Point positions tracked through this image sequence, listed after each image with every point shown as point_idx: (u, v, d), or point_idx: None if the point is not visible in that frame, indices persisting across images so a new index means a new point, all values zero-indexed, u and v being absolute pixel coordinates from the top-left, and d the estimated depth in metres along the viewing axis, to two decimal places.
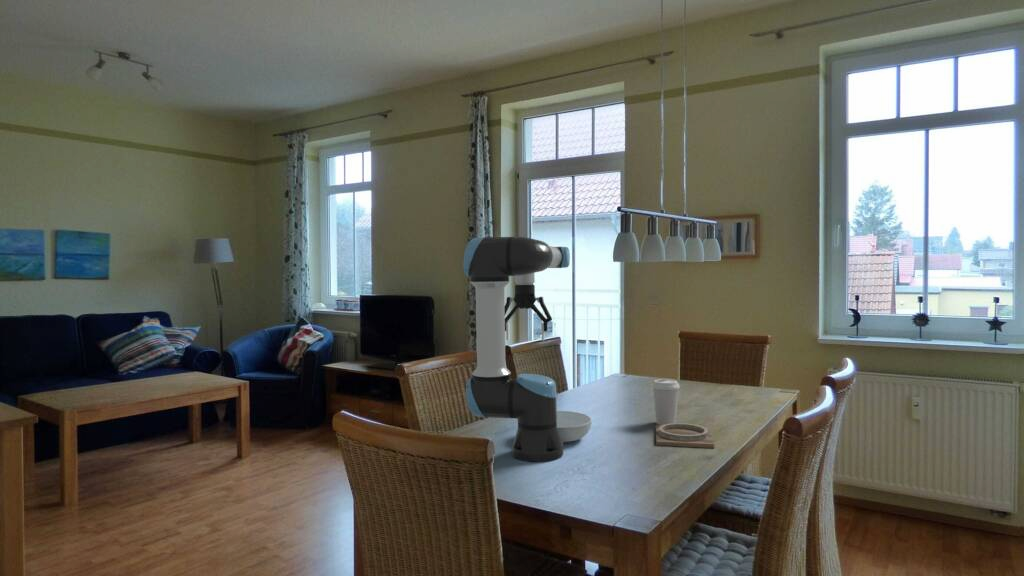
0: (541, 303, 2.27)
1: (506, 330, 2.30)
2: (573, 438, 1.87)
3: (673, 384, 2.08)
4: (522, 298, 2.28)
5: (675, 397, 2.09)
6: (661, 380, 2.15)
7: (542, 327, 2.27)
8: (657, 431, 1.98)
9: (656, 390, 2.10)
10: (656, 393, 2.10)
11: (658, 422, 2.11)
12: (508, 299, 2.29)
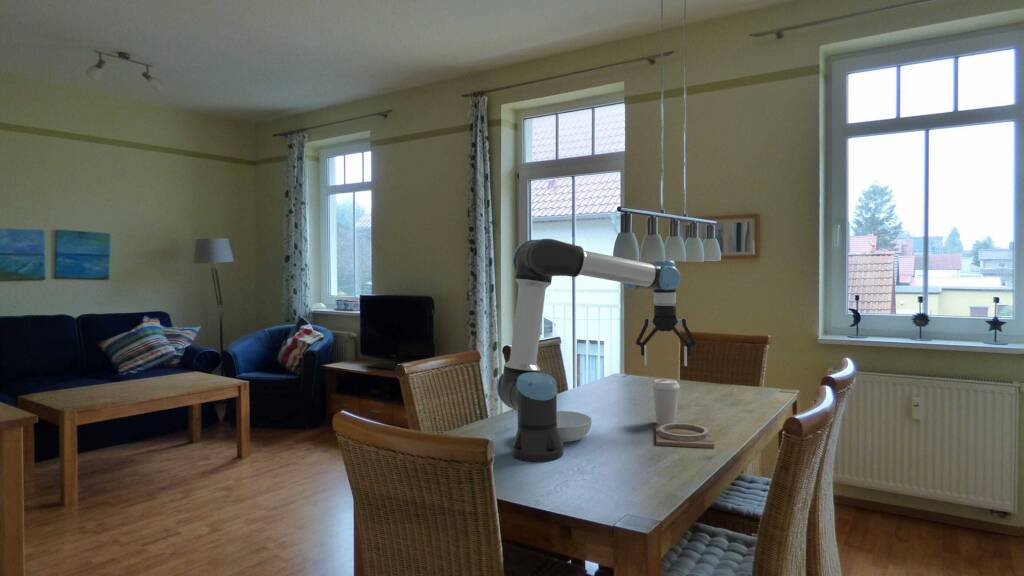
0: (684, 325, 2.09)
1: (644, 354, 2.12)
2: (573, 438, 1.87)
3: (673, 384, 2.08)
4: (662, 320, 2.10)
5: (675, 397, 2.09)
6: (661, 380, 2.15)
7: (685, 351, 2.09)
8: (657, 431, 1.98)
9: (656, 390, 2.10)
10: (656, 393, 2.10)
11: (658, 422, 2.11)
12: (647, 321, 2.11)
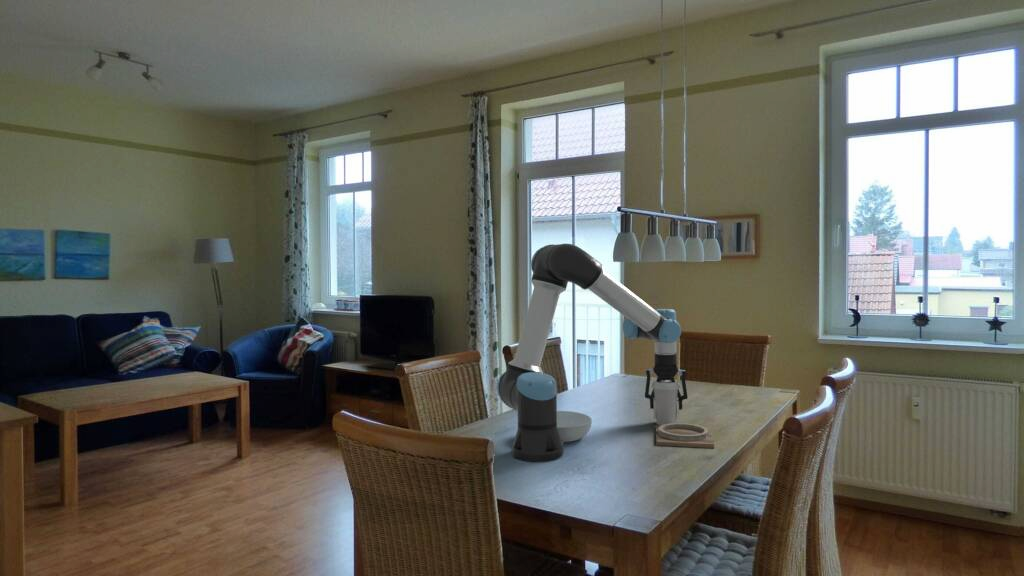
0: (683, 378, 2.09)
1: (653, 408, 2.12)
2: (573, 438, 1.87)
3: (673, 384, 2.08)
4: (662, 366, 2.11)
5: (675, 397, 2.09)
6: (661, 380, 2.15)
7: (677, 405, 2.10)
8: (657, 431, 1.98)
9: (656, 390, 2.10)
10: (656, 393, 2.10)
11: (658, 422, 2.11)
12: (648, 372, 2.12)
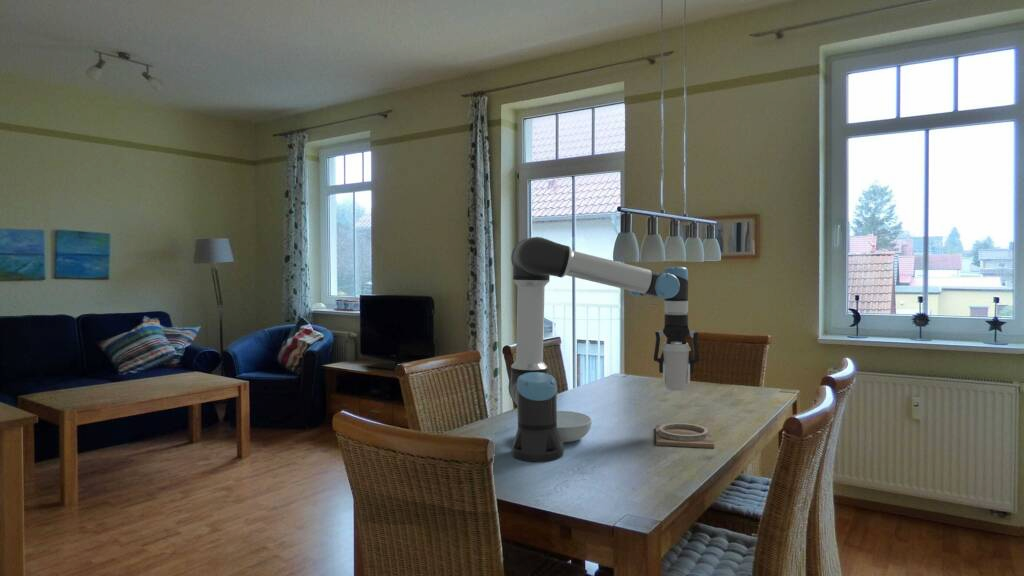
0: (695, 339, 1.97)
1: (663, 372, 1.99)
2: (573, 438, 1.87)
3: (684, 346, 1.96)
4: (673, 328, 1.98)
5: (686, 360, 1.96)
6: None
7: (688, 369, 1.97)
8: (657, 431, 1.98)
9: (666, 353, 1.97)
10: (666, 356, 1.97)
11: (668, 387, 1.98)
12: (657, 334, 1.99)
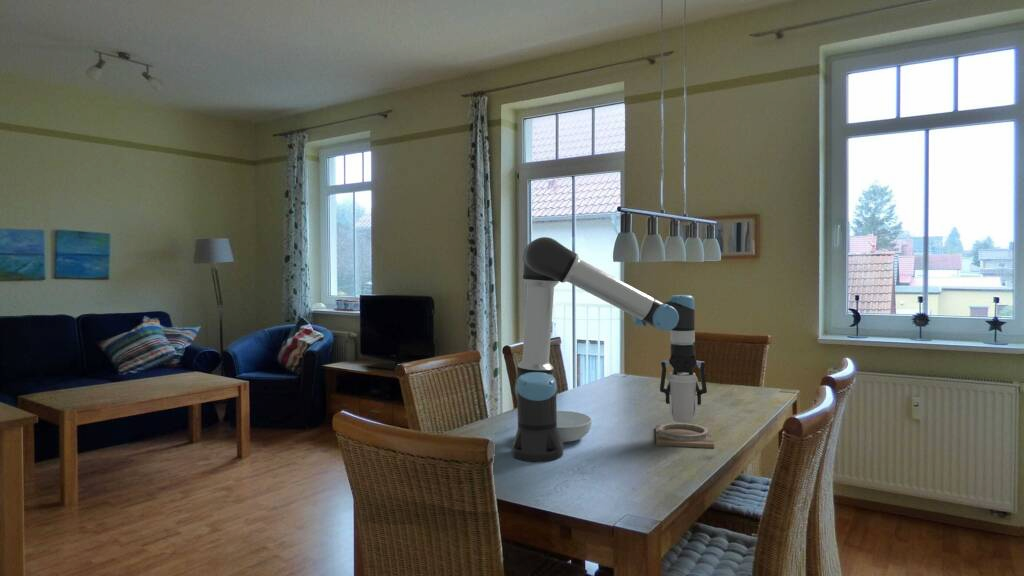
0: (702, 370, 1.91)
1: (669, 403, 1.94)
2: (573, 438, 1.87)
3: (691, 377, 1.90)
4: (679, 358, 1.93)
5: (693, 391, 1.91)
6: (677, 373, 1.97)
7: (696, 400, 1.92)
8: (657, 431, 1.98)
9: (672, 384, 1.92)
10: (672, 387, 1.92)
11: (674, 418, 1.93)
12: (663, 364, 1.94)
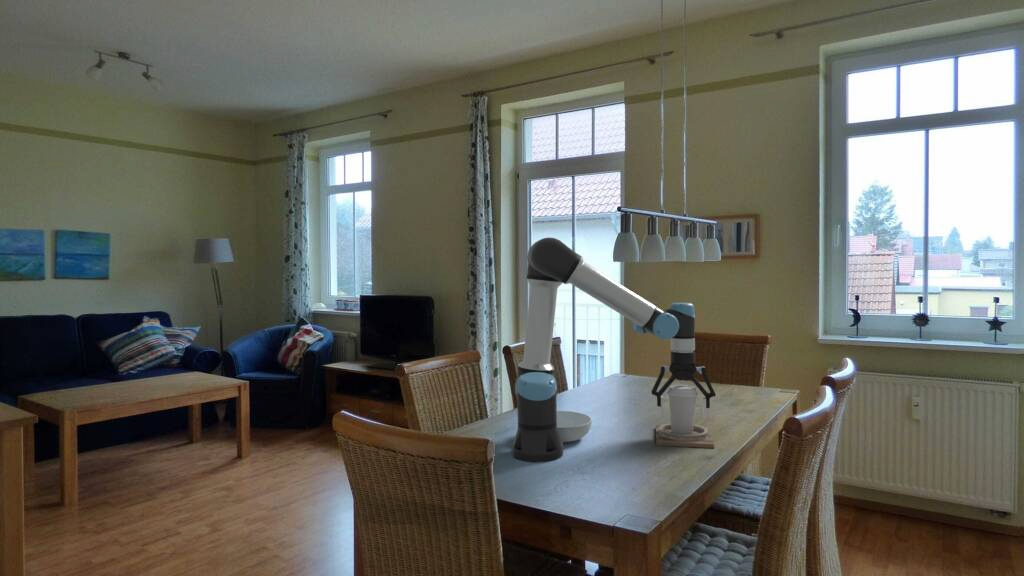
0: (704, 375, 1.91)
1: (661, 406, 1.94)
2: (573, 438, 1.87)
3: (691, 391, 1.90)
4: (680, 368, 1.93)
5: (693, 405, 1.91)
6: (677, 386, 1.97)
7: (704, 403, 1.91)
8: (657, 431, 1.98)
9: (672, 397, 1.92)
10: (672, 401, 1.92)
11: (674, 432, 1.93)
12: (663, 369, 1.94)
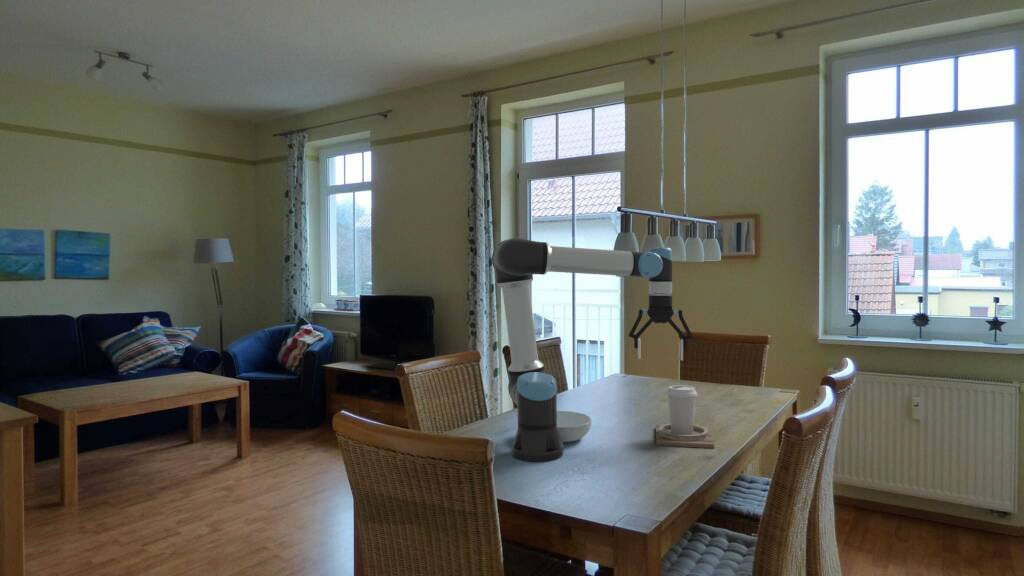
0: (681, 317, 1.96)
1: (638, 347, 1.99)
2: (573, 438, 1.87)
3: (690, 391, 1.90)
4: (658, 311, 1.97)
5: (692, 405, 1.91)
6: (676, 386, 1.97)
7: (681, 345, 1.96)
8: (657, 431, 1.98)
9: (671, 398, 1.92)
10: (671, 401, 1.92)
11: (674, 432, 1.93)
12: (641, 312, 1.99)
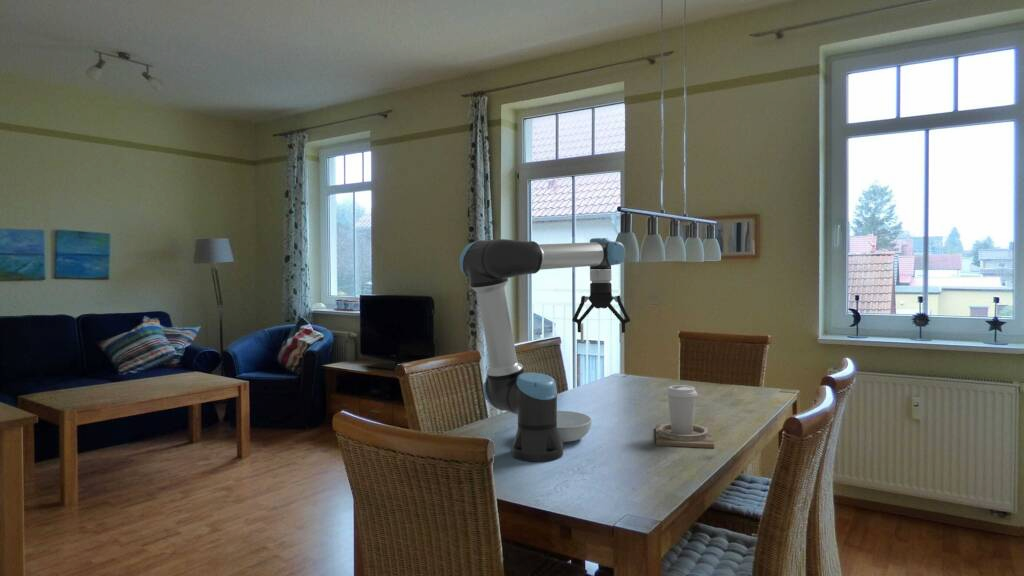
0: (619, 302, 2.11)
1: (580, 331, 2.14)
2: (573, 438, 1.87)
3: (690, 391, 1.90)
4: (598, 297, 2.13)
5: (692, 405, 1.91)
6: (677, 386, 1.97)
7: (620, 328, 2.11)
8: (657, 431, 1.98)
9: (671, 398, 1.92)
10: (671, 401, 1.92)
11: (674, 432, 1.93)
12: (583, 298, 2.14)
